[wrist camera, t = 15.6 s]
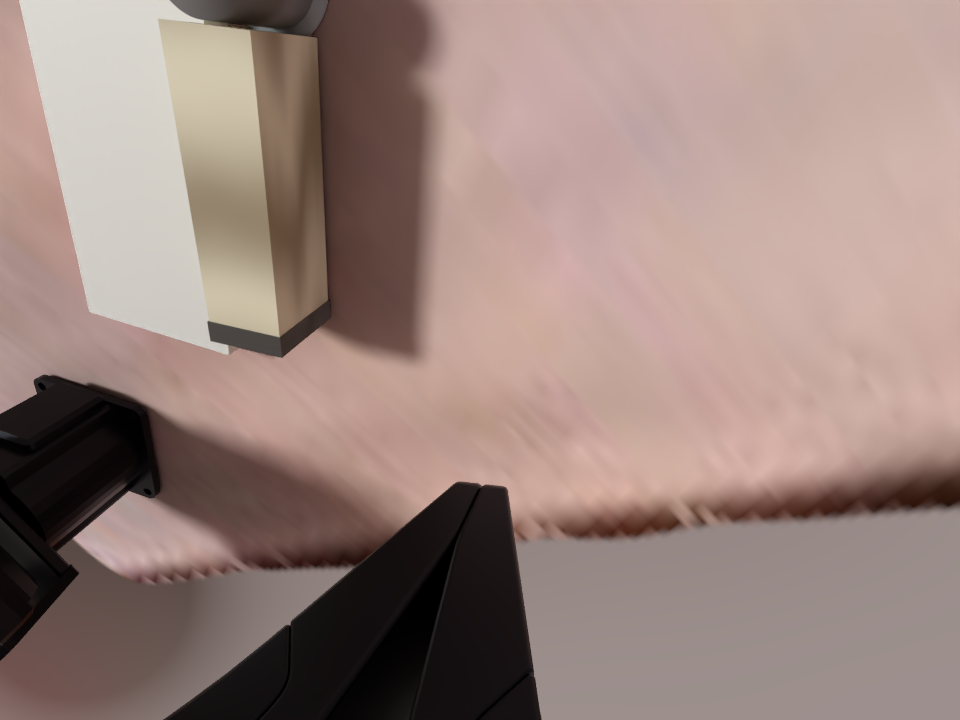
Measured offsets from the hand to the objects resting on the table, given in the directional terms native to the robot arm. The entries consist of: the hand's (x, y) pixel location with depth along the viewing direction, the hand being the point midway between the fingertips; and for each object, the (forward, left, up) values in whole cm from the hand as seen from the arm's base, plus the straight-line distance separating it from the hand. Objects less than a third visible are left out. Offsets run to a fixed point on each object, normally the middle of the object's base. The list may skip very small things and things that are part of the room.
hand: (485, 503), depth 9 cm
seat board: (+1, +15, -12) cm, 19 cm away
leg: (+2, +11, -12) cm, 16 cm away
